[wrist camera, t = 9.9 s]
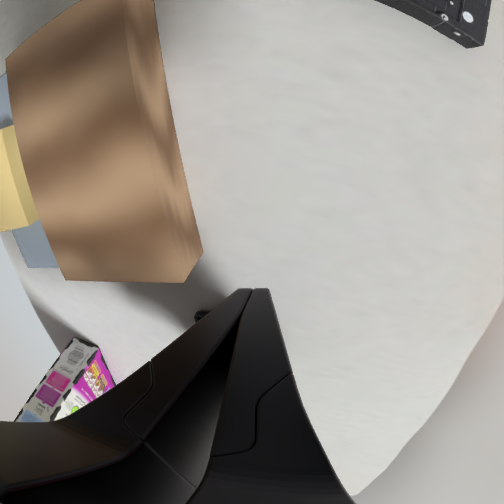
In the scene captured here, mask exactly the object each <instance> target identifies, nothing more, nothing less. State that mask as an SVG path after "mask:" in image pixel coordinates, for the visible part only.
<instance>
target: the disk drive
mask: <svg viewBox="0 0 504 504" xmlns="http://www.w3.org/2000/svg"><path fill="white" fill-rule="evenodd" d="M376 1H378V2H380V3H383V4H385V5H388V6H390V7H392V8H395V9H397V10H399V11H401V12H403V13H405V14H407V15H409V16H412V17H414V18H415V19H417V20H419V21H421V22H423V23H425V24H427V25H429V26H431V27H432V28H433V29H435V30H437V31H438V32H440V33H441V34H443V35H445V36H447V37H448V38H450V39H453V40H454V41H456V42H457V43H459V44H460V45H462V46H463V47H465V48H474V47H479V46H483V45H484V42H485V37H486V32H487V26H488V19H489V12H490V5H491V0H376Z"/></svg>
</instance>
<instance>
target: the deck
mask: <svg viewBox="0 0 504 504" xmlns="http://www.w3.org/2000/svg"><path fill="white" fill-rule="evenodd" d="M6 73H7V83H8V92H9V99H10V106H11V112H12V118H13V124H14V129H15V134H16V139H17V143H18V148H19V152H20V156H21V160H22V164H23V167H24V171H25V175H26V178H27V182H28V185H29V188H30V192H31V195H32V198H33V201H34V204H35V207H36V210H37V213H38V215H39V218H40V221H41V224H42V226H43V229H44V232H45V234H46V237H47V239H48V242H49V244H50V247H51V249H52V251H53V254H54V256H55V258H56V261H57V263H58V265H59V267H60V270H61V272H62V274H63V276H64V278H65V280H73V281H105V282H159V283H184V282H185V280H186V278H187V277H188V275H189V274H190V272H191V271H192V269H193V267H194V266H195V264H196V263H197V261H198V260H199V258H200V256H201V255H202V253H203V249H202V245H201V241H200V237H199V233H198V229H197V225H196V221H195V216H194V212H193V208H192V204H191V200H190V195H189V191H188V187H187V182H186V178H185V173H184V169H183V164H182V159H181V155H180V150H179V145H178V141H177V136H176V131H175V126H174V121H173V116H172V110H171V105H170V100H169V95H168V89H167V84H166V78H165V72H164V66H163V60H162V54H161V48H160V42H159V35H158V29H157V22H156V15H155V7H154V0H80V1H79V2H77V3H76V4H74V5H73V6H71V7H70V8H68V9H67V10H65V11H64V12H62V13H61V14H59V15H58V16H57V17H55V18H54V19H52V20H51V21H50V22H48V23H47V24H46V25H44V26H43V27H42V28H41V29H39V30H38V31H37V32H36V33H34V34H33V35H32V36H31V37H29V38H28V39H27V40H26V41H25V42H24V43H22V44H21V45H20V46H19V47H18V48H17V49H16V50H14V51H13V52H12V53H11V54H10V55H9V56H8V57H7V58H6Z"/></svg>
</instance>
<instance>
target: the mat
mask: <svg viewBox="0 0 504 504" xmlns="http://www.w3.org/2000/svg"><path fill="white" fill-rule="evenodd" d="M11 125H14V124H13V118H12V112H11V106H10V99H9V92H8V83H7V73H5V74H4V75H3V76H2V77H0V129H2V128H5V127H8V126H11ZM12 232H13V234H14V237H15V239H16V241H17V244H18V246H19V249H20V251H21V253H22V256H23V258H24V260H25V262H26V264H27V267H28V268H60V267H59V265H58V263H57V261H56V258H55V256H54V254H53V251H52V249H51V247H50V244H49V242H48V239H47V237H46V234H45V232H44V229H43V226H42V224H41V221H40V219H38V220H37V221H35V222H34V223H32V224H31V225H30V226H26V227H21V228H17V229H12Z"/></svg>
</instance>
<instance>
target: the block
mask: <svg viewBox="0 0 504 504" xmlns="http://www.w3.org/2000/svg"><path fill="white" fill-rule="evenodd" d="M38 219H40V218H39V215H38V213H37V210H36V207H35V204H34V201H33V198H32V195H31V192H30V188H29V185H28V182H27V178H26V175H25V171H24V167H23V164H22V160H21V156H20V152H19V148H18V143H17V139H16V134H15V129H14V125H11V126H8V127H5V128H2V129H0V232H3V231H7V230H12V229H17V228H21V227H26V226H30V225H31V224H32V223H34V222H35V221H37V220H38Z"/></svg>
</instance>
